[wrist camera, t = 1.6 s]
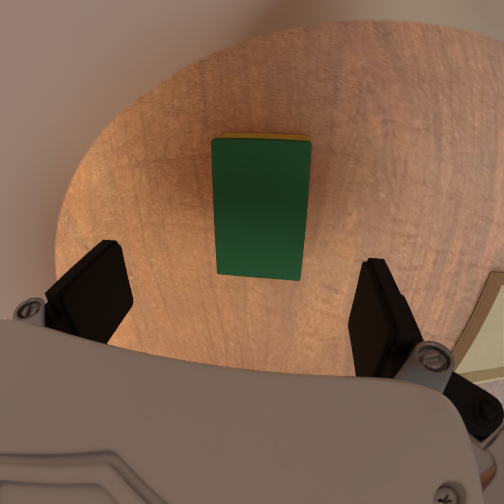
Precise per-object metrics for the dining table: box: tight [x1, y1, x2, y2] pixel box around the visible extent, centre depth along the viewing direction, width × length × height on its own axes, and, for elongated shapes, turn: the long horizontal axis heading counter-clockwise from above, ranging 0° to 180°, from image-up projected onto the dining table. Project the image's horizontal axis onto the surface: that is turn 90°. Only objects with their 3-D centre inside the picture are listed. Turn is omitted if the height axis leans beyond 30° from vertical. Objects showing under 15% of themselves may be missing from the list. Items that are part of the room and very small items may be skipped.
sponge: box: [211, 133, 312, 281], centre depth 17 cm, size 8×5×4 cm, turn 0°
